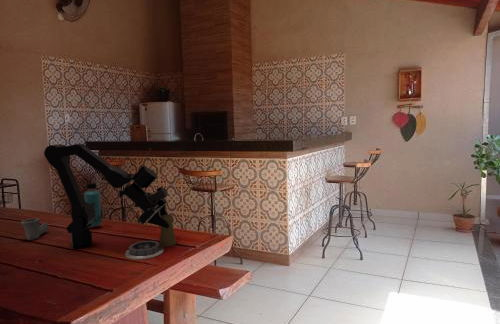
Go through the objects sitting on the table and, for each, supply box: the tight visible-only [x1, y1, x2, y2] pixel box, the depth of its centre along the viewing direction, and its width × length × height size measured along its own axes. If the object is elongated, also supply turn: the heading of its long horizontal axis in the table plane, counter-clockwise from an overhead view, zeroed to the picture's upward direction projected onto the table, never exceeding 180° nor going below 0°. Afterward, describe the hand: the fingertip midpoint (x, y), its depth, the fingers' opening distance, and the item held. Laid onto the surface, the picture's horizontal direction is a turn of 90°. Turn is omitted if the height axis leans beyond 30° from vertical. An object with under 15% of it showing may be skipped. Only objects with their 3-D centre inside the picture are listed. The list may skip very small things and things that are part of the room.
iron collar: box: [124, 240, 165, 261], centre depth 132 cm, size 13×13×3 cm
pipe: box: [20, 217, 50, 241], centre depth 155 cm, size 6×13×8 cm, turn 175°
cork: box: [159, 214, 177, 248], centre depth 140 cm, size 6×6×11 cm
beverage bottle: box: [83, 182, 103, 227], centre depth 165 cm, size 6×7×20 cm
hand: (170, 225), depth 140 cm, fingers closed on cork, 5 cm apart
